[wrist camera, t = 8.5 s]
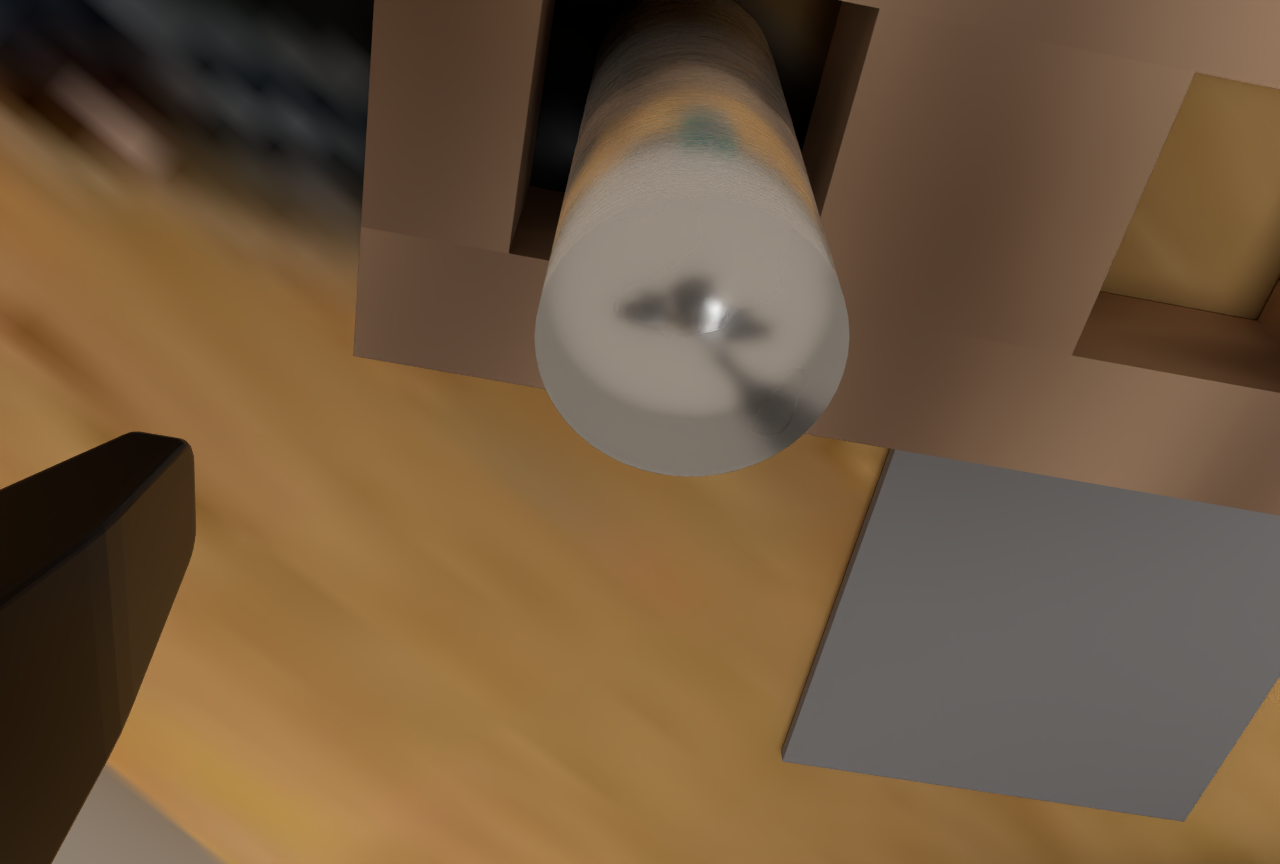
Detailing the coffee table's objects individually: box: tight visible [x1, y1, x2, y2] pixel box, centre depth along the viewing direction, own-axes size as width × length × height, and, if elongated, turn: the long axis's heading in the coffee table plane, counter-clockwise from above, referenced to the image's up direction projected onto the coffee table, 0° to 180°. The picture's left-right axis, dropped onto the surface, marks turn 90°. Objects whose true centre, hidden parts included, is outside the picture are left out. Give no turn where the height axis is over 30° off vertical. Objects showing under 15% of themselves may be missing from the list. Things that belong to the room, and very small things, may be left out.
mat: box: [782, 449, 1280, 822], centre depth 25 cm, size 10×10×1 cm
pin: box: [535, 0, 849, 476], centre depth 15 cm, size 3×3×10 cm
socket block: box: [353, 0, 1280, 516], centre depth 18 cm, size 18×9×3 cm, turn 80°
